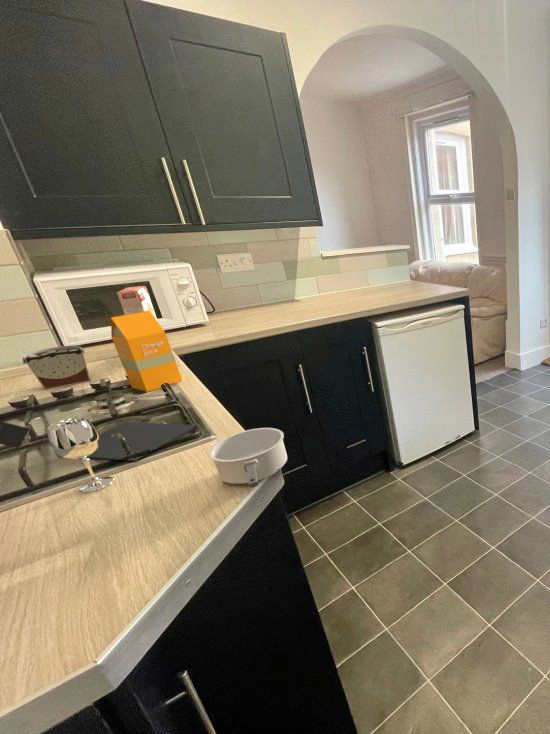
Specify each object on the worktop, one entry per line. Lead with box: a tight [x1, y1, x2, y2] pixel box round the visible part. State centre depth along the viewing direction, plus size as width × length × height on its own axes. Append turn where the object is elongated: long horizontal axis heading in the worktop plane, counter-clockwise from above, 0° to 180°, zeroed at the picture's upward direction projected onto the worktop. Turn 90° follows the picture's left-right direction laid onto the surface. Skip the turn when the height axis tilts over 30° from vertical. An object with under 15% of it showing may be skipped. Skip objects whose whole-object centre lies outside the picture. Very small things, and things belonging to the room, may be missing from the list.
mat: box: [57, 421, 198, 462], centre depth 87 cm, size 18×14×1 cm
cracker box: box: [116, 285, 159, 323], centre depth 149 cm, size 14×6×21 cm, turn 30°
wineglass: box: [46, 416, 115, 493], centre depth 71 cm, size 6×6×12 cm
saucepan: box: [208, 427, 288, 488], centre depth 71 cm, size 12×20×6 cm, turn 33°
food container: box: [22, 345, 92, 391], centre depth 118 cm, size 12×6×10 cm, turn 130°
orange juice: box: [110, 310, 183, 393], centre depth 113 cm, size 8×9×20 cm
